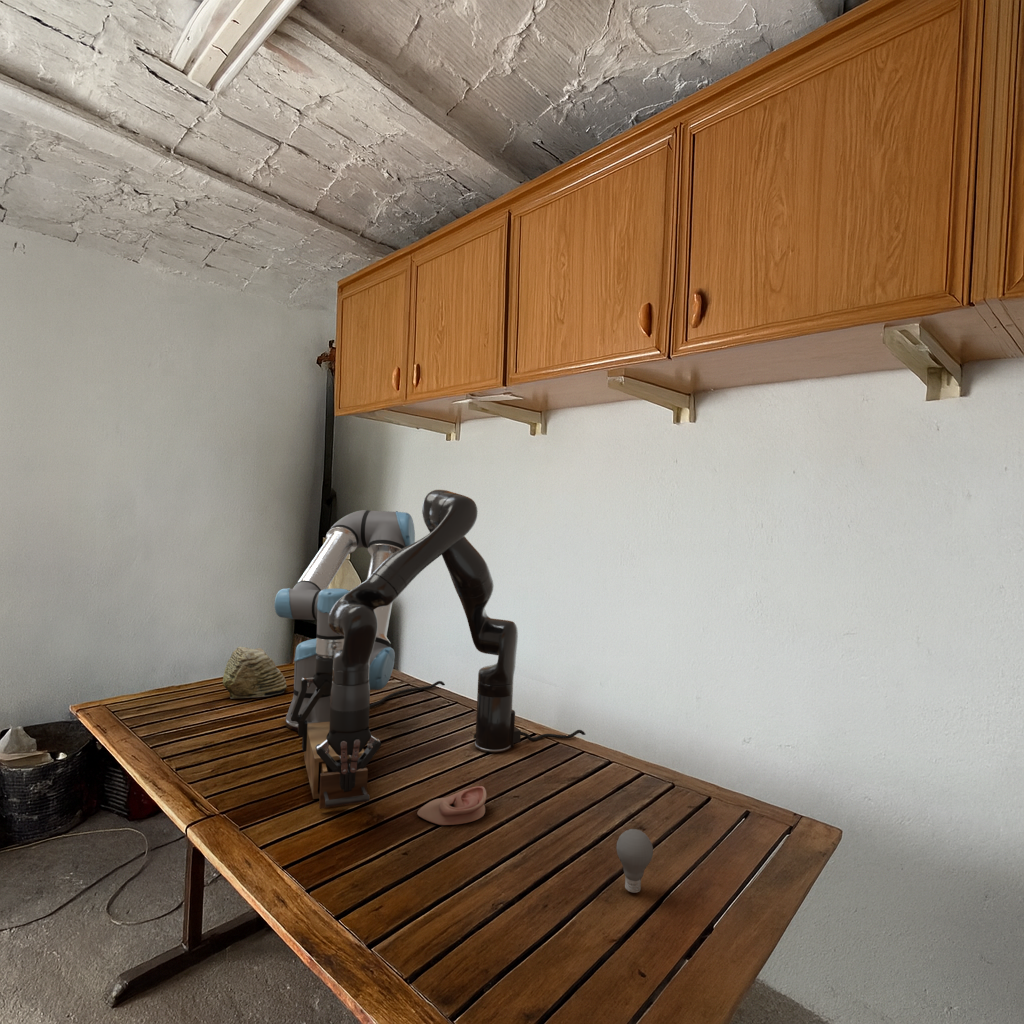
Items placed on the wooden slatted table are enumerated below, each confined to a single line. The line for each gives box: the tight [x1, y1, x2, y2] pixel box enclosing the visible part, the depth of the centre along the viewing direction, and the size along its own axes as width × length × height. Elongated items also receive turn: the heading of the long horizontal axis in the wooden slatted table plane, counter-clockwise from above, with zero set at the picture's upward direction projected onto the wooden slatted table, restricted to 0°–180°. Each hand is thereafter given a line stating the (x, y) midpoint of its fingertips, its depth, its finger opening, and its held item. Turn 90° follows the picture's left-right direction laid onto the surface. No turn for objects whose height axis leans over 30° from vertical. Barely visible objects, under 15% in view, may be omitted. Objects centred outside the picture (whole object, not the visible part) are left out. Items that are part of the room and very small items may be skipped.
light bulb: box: [615, 828, 654, 894], centre depth 106 cm, size 6×6×10 cm
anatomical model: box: [416, 785, 488, 826], centre depth 129 cm, size 13×4×12 cm
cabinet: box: [303, 722, 365, 800], centre depth 144 cm, size 22×10×9 cm, turn 23°
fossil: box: [222, 646, 288, 699], centre depth 198 cm, size 9×18×15 cm, turn 132°
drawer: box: [318, 759, 371, 810], centre depth 135 cm, size 26×9×7 cm, turn 23°
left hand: (328, 746), depth 151 cm, fingers closed on cabinet, 10 cm apart
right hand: (347, 789), depth 125 cm, fingers closed
